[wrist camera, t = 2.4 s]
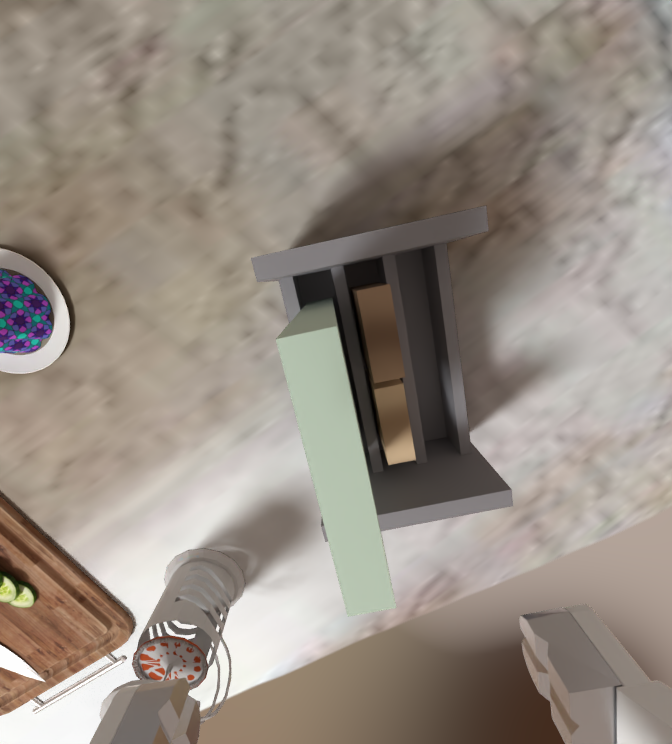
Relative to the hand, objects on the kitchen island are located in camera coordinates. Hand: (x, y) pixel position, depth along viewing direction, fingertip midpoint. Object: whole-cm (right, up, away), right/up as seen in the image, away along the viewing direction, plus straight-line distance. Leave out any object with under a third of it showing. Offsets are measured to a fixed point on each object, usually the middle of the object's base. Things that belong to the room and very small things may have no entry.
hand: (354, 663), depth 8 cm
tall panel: (0, +7, +26) cm, 27 cm away
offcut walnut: (+3, +12, +25) cm, 28 cm away
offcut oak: (+4, +4, +27) cm, 28 cm away
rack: (+4, +8, +27) cm, 29 cm away
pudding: (-32, +13, +26) cm, 43 cm away
